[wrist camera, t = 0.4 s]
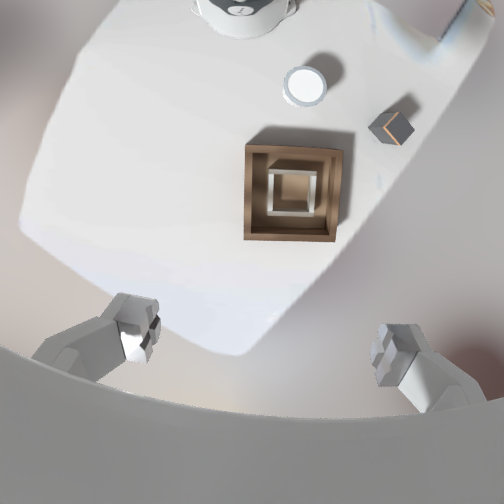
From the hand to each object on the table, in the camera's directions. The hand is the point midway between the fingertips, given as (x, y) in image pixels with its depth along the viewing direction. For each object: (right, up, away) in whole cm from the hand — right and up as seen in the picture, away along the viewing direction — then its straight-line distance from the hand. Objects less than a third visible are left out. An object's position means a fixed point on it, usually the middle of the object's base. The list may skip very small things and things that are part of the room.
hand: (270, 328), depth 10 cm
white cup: (+8, +31, +37) cm, 48 cm away
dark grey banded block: (+23, +26, +38) cm, 52 cm away
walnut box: (+6, +14, +43) cm, 46 cm away
